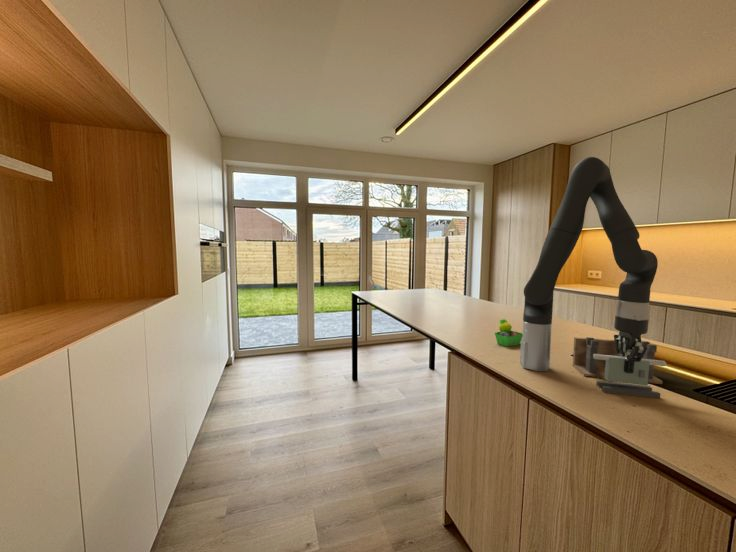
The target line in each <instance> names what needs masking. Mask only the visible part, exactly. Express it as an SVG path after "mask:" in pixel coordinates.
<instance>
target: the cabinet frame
mask: <svg viewBox="0 0 736 552" xmlns="http://www.w3.org/2000/svg"><path fill="white" fill-rule="evenodd" d="M641 345H642V346H643V347H646V348H647V350H646V352H645V354H644V356H643V357H642V359H651V360H655V355H656V354H655V353H657V351H658V350H657V348H658V345H657V344H651V342H650V341H647V340H646V341H644V340H641ZM572 352H573V353H572V367H573V368H575V370H577V372H579V373H580V374H581V375H582V374H583V375H584V376H583V375H582V376H583V377H585V376H592V377H591V378H595V377H601V378H600V379H605V378H604V377H605V366H606V360H599V359H594V358H593V354H601V355H611V356H619V353H617V352H616V346H615V341H614V339H603V338H602V339H601V338H595V337H588V336H587V337H577V336H576V337H575V336H574V337H573V351H572ZM654 366H655V365H649V374H648V384H658V385H663V380H661V379H660V378H658V377H657V376H654Z"/></svg>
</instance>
